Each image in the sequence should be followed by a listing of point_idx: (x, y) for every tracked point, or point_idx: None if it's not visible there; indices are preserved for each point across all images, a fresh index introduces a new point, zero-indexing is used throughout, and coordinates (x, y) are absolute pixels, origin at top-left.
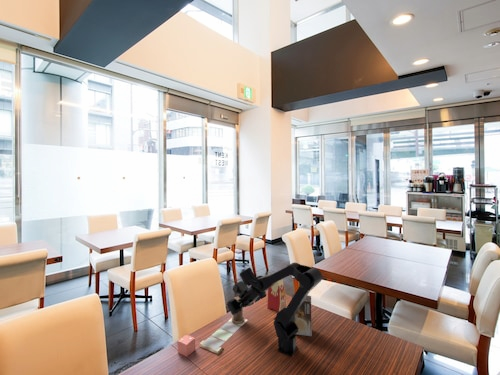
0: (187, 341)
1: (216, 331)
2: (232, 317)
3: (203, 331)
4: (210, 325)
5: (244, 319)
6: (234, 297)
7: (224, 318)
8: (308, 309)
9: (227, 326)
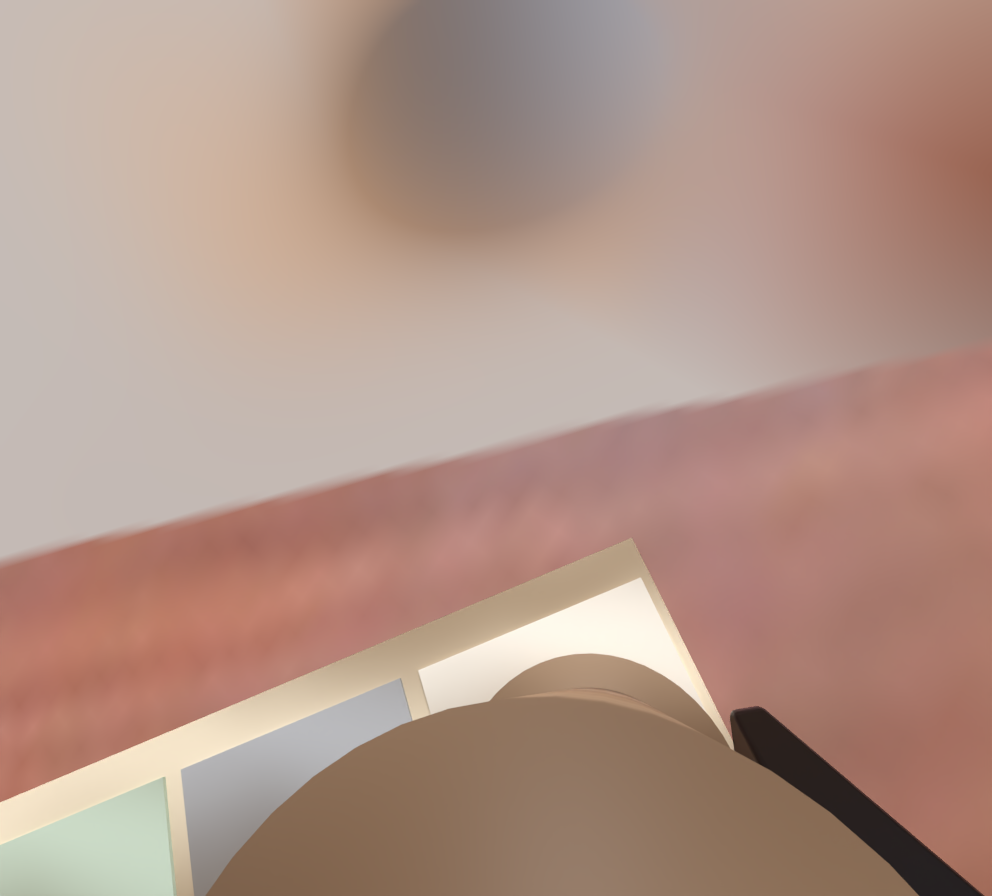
0: None
1: (74, 826)
2: (519, 677)
3: (65, 601)
4: (218, 529)
5: None
6: (451, 731)
7: (484, 489)
8: None
9: None
